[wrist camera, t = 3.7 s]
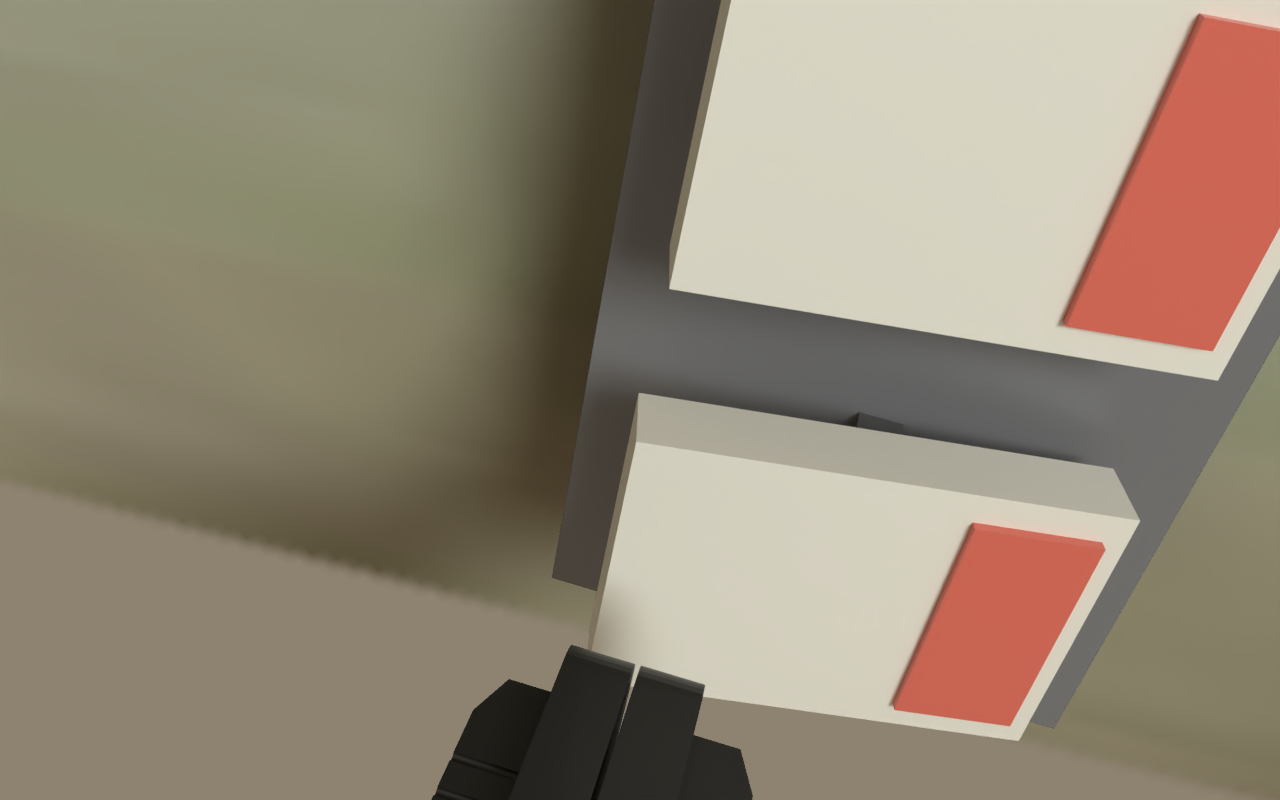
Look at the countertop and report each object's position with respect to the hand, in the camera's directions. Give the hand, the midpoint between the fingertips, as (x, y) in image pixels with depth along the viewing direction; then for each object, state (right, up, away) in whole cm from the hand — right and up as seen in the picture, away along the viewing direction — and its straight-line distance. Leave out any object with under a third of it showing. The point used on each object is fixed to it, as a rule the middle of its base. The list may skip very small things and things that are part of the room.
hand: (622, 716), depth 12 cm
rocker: (+3, +1, +2) cm, 4 cm away
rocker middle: (+4, +6, -1) cm, 7 cm away
